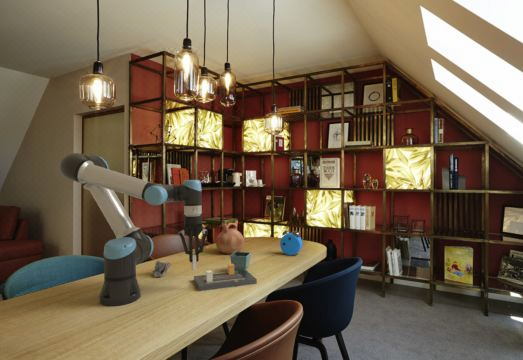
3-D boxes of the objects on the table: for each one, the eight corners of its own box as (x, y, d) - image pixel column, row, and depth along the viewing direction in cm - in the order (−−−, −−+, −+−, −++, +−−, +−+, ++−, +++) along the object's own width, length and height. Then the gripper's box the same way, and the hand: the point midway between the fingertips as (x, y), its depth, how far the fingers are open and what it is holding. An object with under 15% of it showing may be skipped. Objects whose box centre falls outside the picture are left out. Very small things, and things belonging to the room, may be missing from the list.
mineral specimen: (155, 284, 159) (173, 280, 157) (146, 277, 154) (164, 272, 152) (159, 267, 166) (176, 262, 164) (150, 259, 161) (167, 255, 159)
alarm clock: (302, 254, 200) (302, 230, 200) (299, 256, 194) (299, 232, 194) (283, 252, 205) (283, 229, 205) (279, 254, 200) (279, 230, 200)
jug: (229, 248, 219) (228, 218, 219) (249, 251, 208) (249, 220, 208) (209, 253, 204) (209, 222, 204) (231, 257, 193) (231, 224, 193)
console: (199, 290, 136) (199, 284, 136) (193, 280, 150) (193, 274, 150) (256, 283, 146) (256, 277, 146) (246, 274, 160) (246, 269, 160)
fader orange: (229, 275, 151) (229, 265, 151) (227, 273, 154) (227, 264, 154) (234, 274, 152) (234, 265, 152) (232, 272, 155) (232, 263, 155)
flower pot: (246, 274, 160) (246, 256, 160) (229, 273, 162) (229, 255, 161) (251, 269, 168) (250, 252, 168) (234, 268, 170) (234, 251, 170)
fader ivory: (206, 282, 140) (206, 272, 140) (205, 280, 143) (205, 270, 143) (212, 282, 141) (212, 272, 141) (211, 279, 144) (211, 270, 144)
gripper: (178, 217, 133) (179, 273, 133) (209, 215, 138) (210, 269, 138) (176, 215, 140) (177, 268, 140) (206, 213, 145) (207, 265, 145)
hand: (194, 269), depth 139 cm, fingers closed
